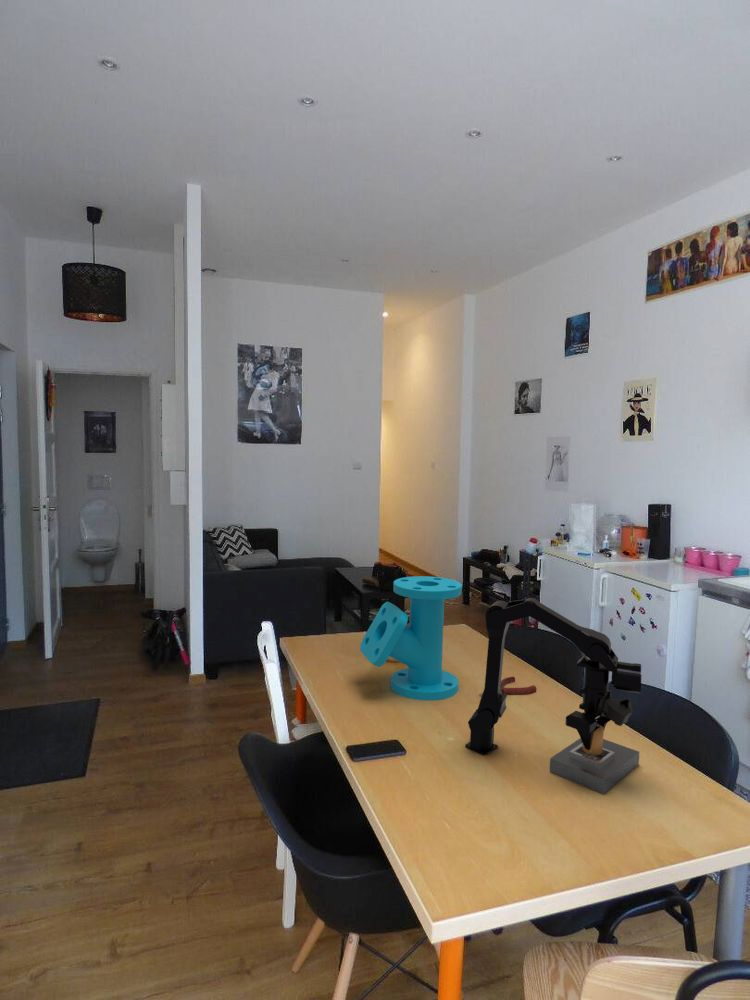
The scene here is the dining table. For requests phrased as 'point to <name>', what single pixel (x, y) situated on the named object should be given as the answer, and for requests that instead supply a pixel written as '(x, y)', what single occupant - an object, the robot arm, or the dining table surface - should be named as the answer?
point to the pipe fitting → (414, 638)
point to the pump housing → (596, 742)
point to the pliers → (515, 690)
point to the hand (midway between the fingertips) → (592, 746)
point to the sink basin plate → (595, 765)
